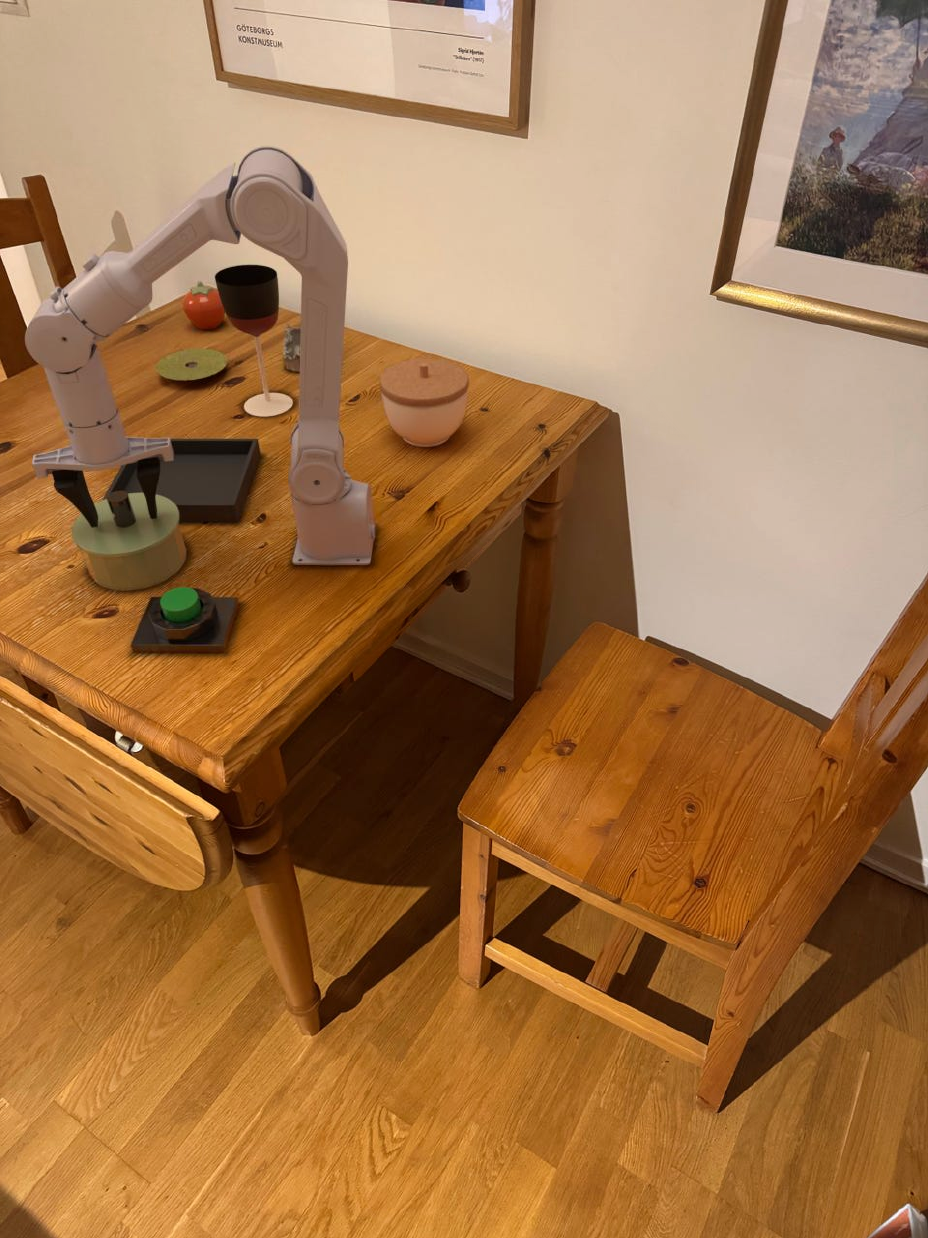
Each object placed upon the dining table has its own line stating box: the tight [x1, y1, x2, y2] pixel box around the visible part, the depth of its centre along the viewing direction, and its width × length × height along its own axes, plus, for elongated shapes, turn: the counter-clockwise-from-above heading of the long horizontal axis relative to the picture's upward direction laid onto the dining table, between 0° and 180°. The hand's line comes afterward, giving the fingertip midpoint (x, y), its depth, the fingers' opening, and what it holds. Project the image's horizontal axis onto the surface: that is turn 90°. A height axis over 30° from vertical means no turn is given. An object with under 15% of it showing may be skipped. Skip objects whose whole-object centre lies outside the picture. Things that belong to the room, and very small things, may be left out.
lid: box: [71, 491, 180, 557], centre depth 101 cm, size 12×12×5 cm
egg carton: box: [282, 323, 301, 373], centre depth 144 cm, size 11×8×4 cm
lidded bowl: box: [378, 357, 470, 448], centre depth 123 cm, size 13×13×11 cm
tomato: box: [182, 280, 226, 330], centre depth 153 cm, size 7×7×8 cm
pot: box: [79, 523, 187, 592], centre depth 104 cm, size 11×11×5 cm
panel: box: [130, 587, 240, 654], centre depth 96 cm, size 10×8×3 cm
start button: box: [160, 586, 201, 622], centre depth 94 cm, size 4×4×2 cm
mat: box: [155, 347, 228, 382], centre depth 141 cm, size 11×11×2 cm
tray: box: [102, 438, 262, 523], centre depth 116 cm, size 17×16×3 cm
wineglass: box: [214, 264, 294, 417], centre depth 127 cm, size 8×9×20 cm
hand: (124, 518), depth 101 cm, fingers open, 6 cm apart
